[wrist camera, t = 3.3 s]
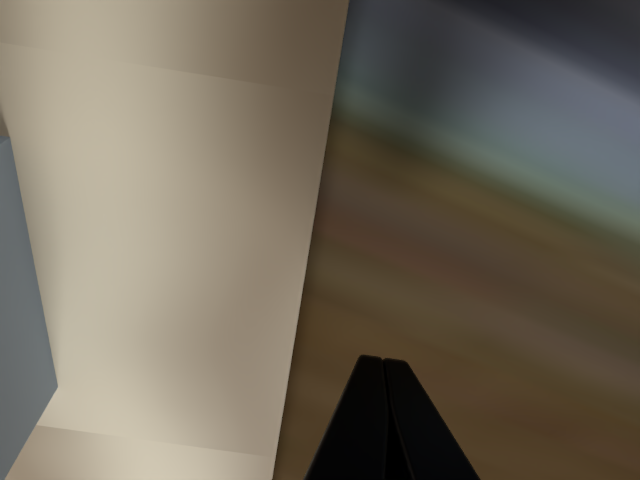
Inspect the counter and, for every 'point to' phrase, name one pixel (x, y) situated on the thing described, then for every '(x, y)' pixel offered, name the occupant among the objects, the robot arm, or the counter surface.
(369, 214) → the counter surface
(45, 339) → the block
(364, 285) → the counter surface
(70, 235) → the trap board
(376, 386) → the robot arm
